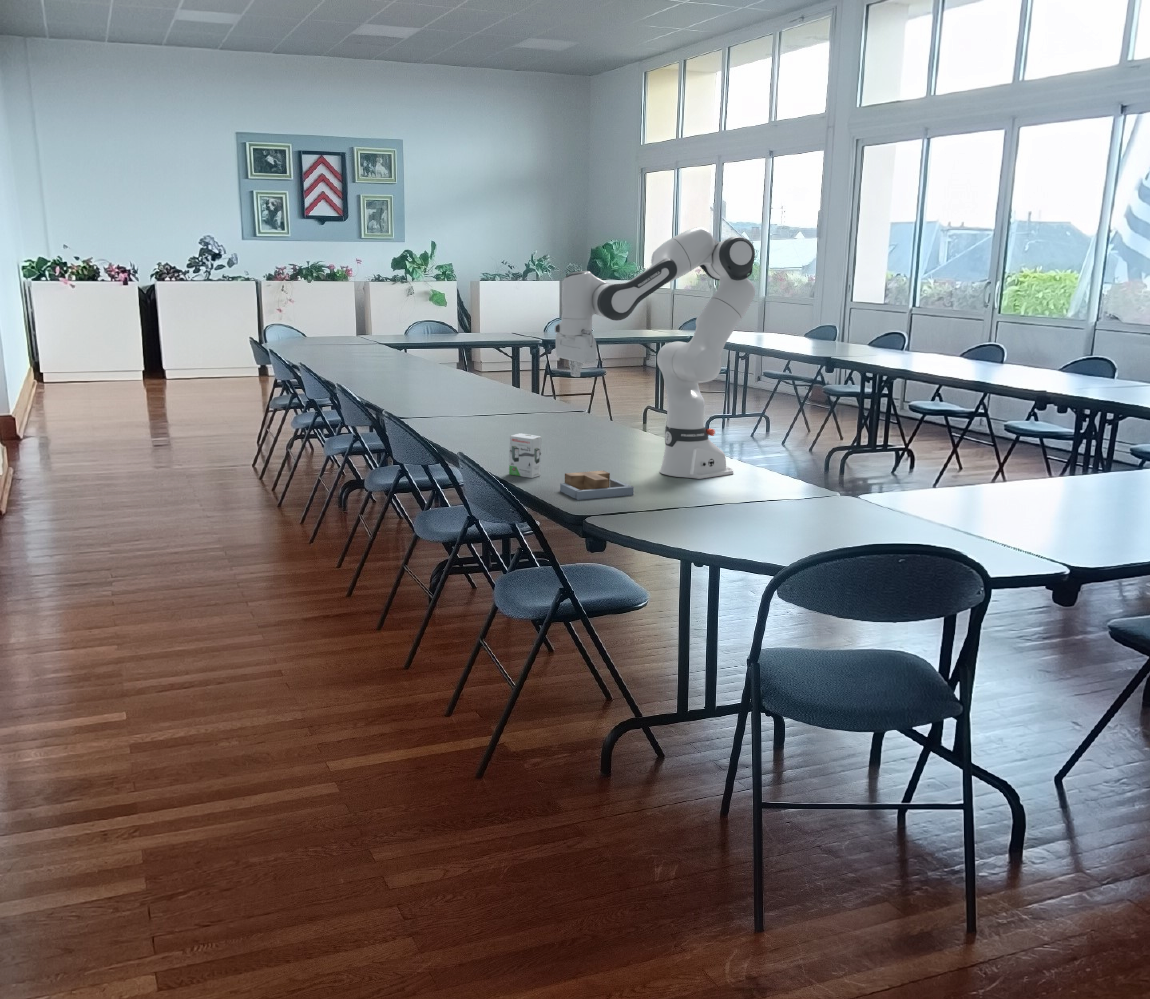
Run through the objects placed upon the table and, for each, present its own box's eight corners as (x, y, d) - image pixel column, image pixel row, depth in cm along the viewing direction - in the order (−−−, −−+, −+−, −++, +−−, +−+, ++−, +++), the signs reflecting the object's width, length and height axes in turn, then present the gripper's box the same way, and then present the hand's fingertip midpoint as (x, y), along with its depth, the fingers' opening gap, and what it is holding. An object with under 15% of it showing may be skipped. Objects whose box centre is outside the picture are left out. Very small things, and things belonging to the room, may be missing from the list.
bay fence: (614, 486, 298) (614, 479, 298) (633, 494, 288) (633, 486, 288) (560, 491, 291) (560, 483, 290) (577, 499, 281) (577, 491, 281)
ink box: (508, 474, 311) (508, 435, 309) (517, 471, 315) (518, 432, 313) (531, 478, 307) (532, 438, 304) (541, 475, 311) (542, 436, 308)
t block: (602, 486, 299) (603, 470, 298) (621, 494, 289) (621, 478, 288) (564, 489, 294) (564, 473, 293) (581, 497, 284) (582, 481, 283)
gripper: (602, 330, 296) (601, 380, 299) (571, 325, 314) (570, 372, 317) (582, 331, 293) (581, 380, 297) (552, 326, 311) (551, 373, 314)
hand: (575, 376), depth 307 cm, fingers closed
